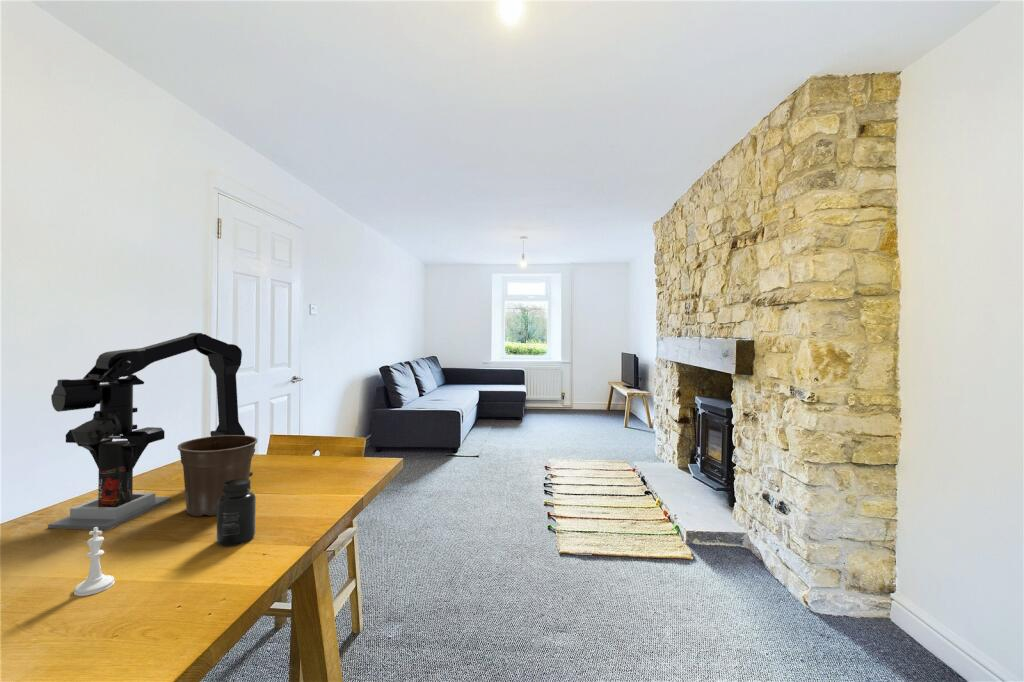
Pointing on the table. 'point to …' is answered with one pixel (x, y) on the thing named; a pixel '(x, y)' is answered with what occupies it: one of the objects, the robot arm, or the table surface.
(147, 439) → the robot arm
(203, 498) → the plant pot
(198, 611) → the table surface
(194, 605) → the table surface
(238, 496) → the supplement bottle
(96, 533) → the chess piece
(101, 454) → the deodorant
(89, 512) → the socket board
